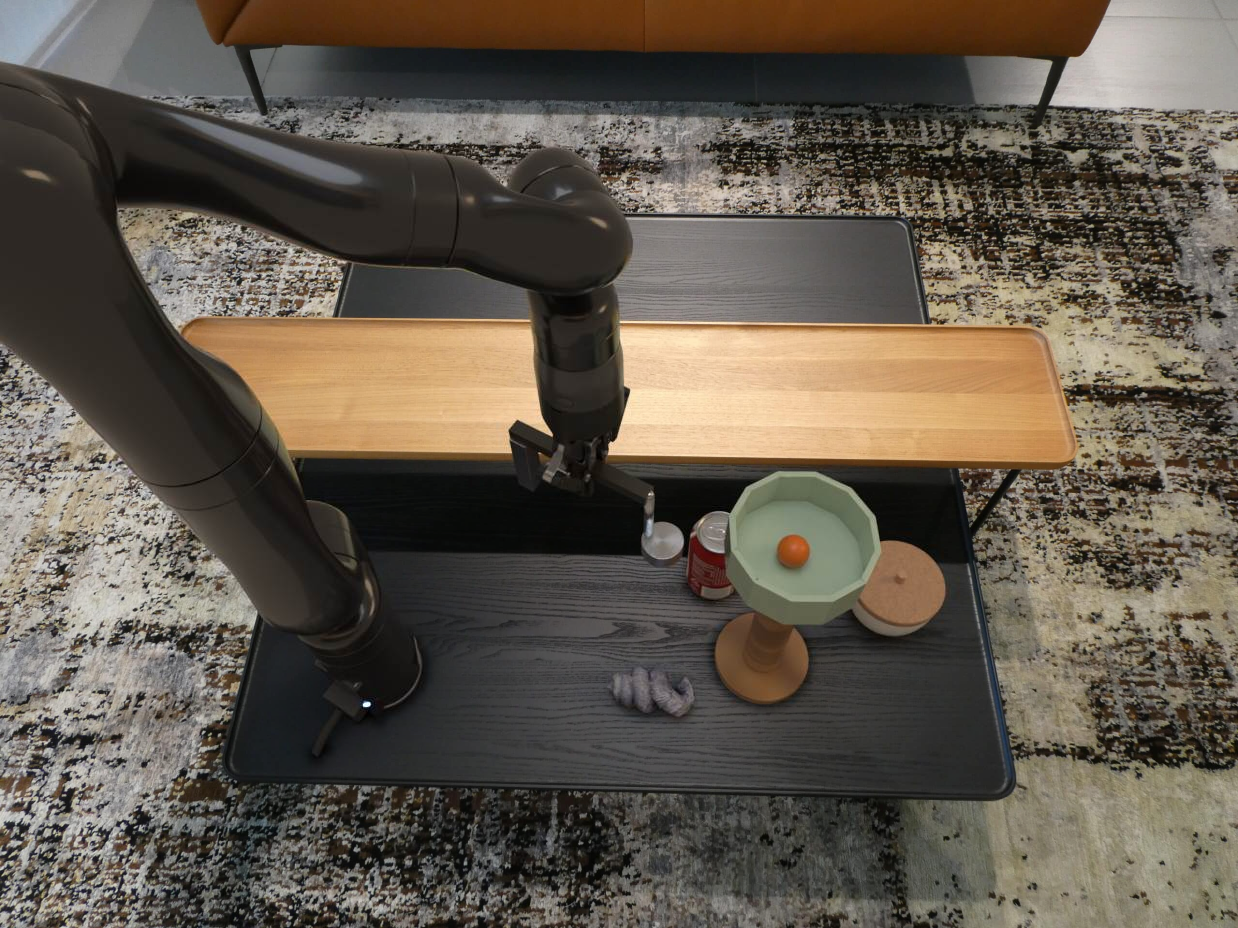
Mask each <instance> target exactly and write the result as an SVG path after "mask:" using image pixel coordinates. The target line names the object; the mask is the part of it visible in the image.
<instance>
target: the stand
mask: <svg viewBox="0 0 1238 928" xmlns="http://www.w3.org/2000/svg"><path fill="white" fill-rule="evenodd" d="M809 662H810V661H809V652H808V648H807V645H806V642H805V640H804V639H803V637H802V635H801V634H800V633H799V631H798V630H797V628H795V625H788V624H781V623H779V622H777V621H775V620H773V619H772V618H770V617H768V616H766V615H764V614H762V613H760V612H758V611H756V610H754V612H748V613H744V614H741V615H739V616H737V617H734V618H733V619H732V620H730V621H729V622H728V623H727V624H725V626H724V627H723V628H722V630H721V631H720V633H719V634H718V637H717V640H716V643H715V649H714V665H715V668H716V669H715V670H716V671H717V674H718V677H719V678H720V680H721V682H722V683H723V684H724V686H725V687H726V688H727V689H728V690H729V691H730V692H731V693H732V694H733V695H735V696H736V697H738V698H740V699H742V700H743V701H746V702H749V703H753V704H756V705H772V704H777V703H780V702H783V701H785V700H787V699H789V698H790V697H791V696H793V695H794V694H795V693H796V692H797V691H798V690H799V689H800V687H801V686H802V684H803V682H804V680H805V678H806V676H807V674H808V669H809Z"/></svg>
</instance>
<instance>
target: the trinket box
mask: <svg viewBox="0 0 1238 928" xmlns="http://www.w3.org/2000/svg"><path fill="white" fill-rule="evenodd" d="M880 545H881V551H882V552H881V554H880V556H879V558H878V561H877V563H876V565H875V567H874V569H873V571H872V573H871V575H870V577H869V579H868V581H867V583H866V585H865V587H864V589H863V591H862V593H861V595H860V597H859V599H858V600H857V602H856V604H855V606H854V607H853V608H851V609H850V610H851V611H852V613H853V614H854V617H855V618H856V619H857V620H858V621H859V622H860V623H861V624H862V625H863V626H864V627H866V628H867V629H869V630H870V631H872V632H873V633H876V634H879V635H882V636H887V637H902V636H905V635H910V634H912V633H914V632H917V631H919V630H920V629H921V628H923V627H924V626H925V625H926V624H928V622H929V621H930V620H932V618H933V617H935V616H936V614H937V613H938V612H939V610H941V608H942V606H943V603H944V601H945V598H946V582H945V578H944V575H943V573H942V571H941V569H940V567H939V566H938V564H937V563H936V561H934V559H933V558H932V557H931V556H930V555H929V554H927V552H925V551H924V550H922V549H921V548H919V547H917V546H915V545H913V544H911V543H907V542H905V541H900V540H882V541H880Z"/></svg>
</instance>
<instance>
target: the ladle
mask: <svg viewBox="0 0 1238 928" xmlns="http://www.w3.org/2000/svg"><path fill="white" fill-rule="evenodd" d="M507 432H508V435H509V439H508V441H509V445H510V450H511V455H512V460H513V465H514V468H515V469H514V470H515V474H516V478H517V482H518V485H520V486H521V487H523V488H525V489H528V491H531V492H535V490H536V489H537V488H538V486H539V485H540V484H541V482H542V481H543V480H542V479H540V478H538V477H536V471H537V469H538V468H539V466H540V465H542V464H541V460H540V459H541V458H540V454H541V455H542V456H545V457H548V458H549V459H550V460H551V459H552V457H553V455H554V453H553V452H552V450H551V442H552V437H553V435H549V434H547V433H546V432H544V431H541V430H540V429H538V428H535V427H534V426H532V425H529V424H527V423H526V422H523V421H522V420H519V419H516V420H515V421H514V423H512V425H511V426H510V427H509V428H508V431H507ZM592 474H593V481H595V482H596V483H599V484H601V485H603V486H604V487H606V488H609V489H611V490H612V491H615V492H617V493H619V494H620V495H622V496H624V497H627V498H629V499H631V500H632V501H635V502H637V503H638V504H641V505H643V532H642V535H641V540H640V551H641V555H642V557H643V559H644V560H645V562H647V563H648V564H649V565H651V567H655V568H660V569H664V568H665V569H666V568H670V567H672V566H675V565H676V564H677V563H678V562H680V560H681V558H682V557H683V555H684V548H685V547H684V545H685V538H684V535H683V532H682V531H681V529H680V528H679V527H678V526H676V525H675V524H673V523H670V522H667V521H658V522H655V521H654V520H655V493H654V486H653V485H651V484H650V483H647V482H645V481H643V480H641V479H639V478H637V477H635V476H633V475H631V474H630V473H627V472H625V471H623V470H620V469H619V468H617V467H615V466H613V465H611V464H609V463H606V461H605V462H603V461H601V460H599V459H597V458H596V462H595V464H594V465H593V466H592Z"/></svg>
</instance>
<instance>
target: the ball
mask: <svg viewBox="0 0 1238 928" xmlns="http://www.w3.org/2000/svg"><path fill="white" fill-rule="evenodd" d="M777 555H778V558H779V560H780V561H781V562H782V563H783V564H784V565H786V566H788V567H799V566H802V565H803V564H805V563H806V561H807V560H808V558H809V556H810V547H809V544H808V543H807V541H806V540H805V539H804V538H803V537H801V536H799V535H788V536H786V537H784V538H782V539H781V540H780V542H779V544H778V546H777Z"/></svg>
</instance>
